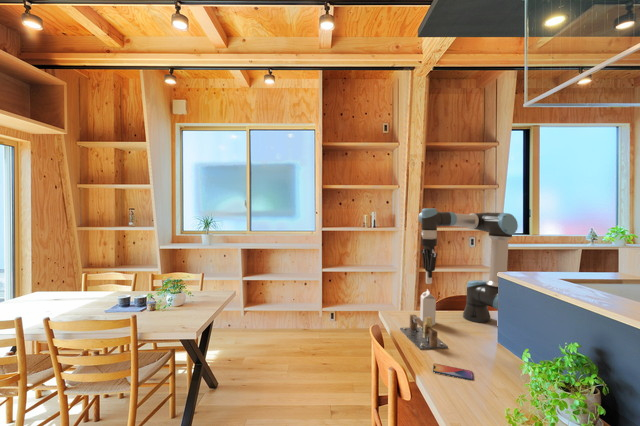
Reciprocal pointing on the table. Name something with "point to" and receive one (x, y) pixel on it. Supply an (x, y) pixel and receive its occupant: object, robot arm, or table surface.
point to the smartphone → (453, 371)
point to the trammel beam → (416, 320)
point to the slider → (427, 324)
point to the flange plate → (421, 338)
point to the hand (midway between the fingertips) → (428, 283)
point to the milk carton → (427, 307)
